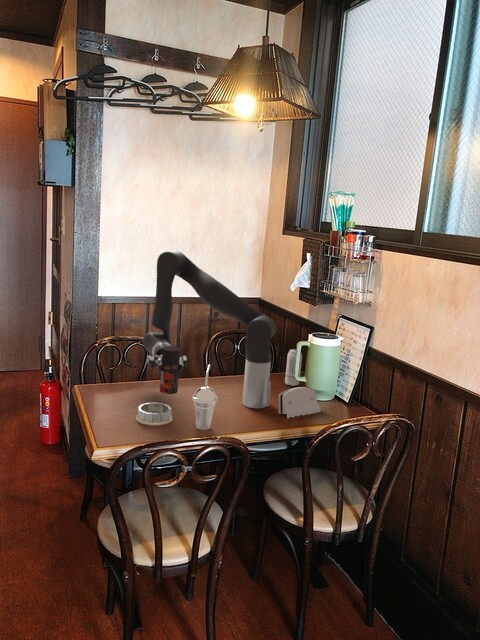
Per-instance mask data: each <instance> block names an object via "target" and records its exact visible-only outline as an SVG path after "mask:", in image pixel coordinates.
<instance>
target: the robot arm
mask: <svg viewBox="0 0 480 640" xmlns="http://www.w3.org/2000/svg"><path fill="white" fill-rule="evenodd" d="M175 276H177V277H179V278H181V279H182V280H183V281H184V282H186V283H188V284H189V285H190V286H191V287H192V288H193V290H194V291H195V292H196V294H197V295H198V297H199V298H200V299H201V300H202V301H203V302H204V303H205V304H207V305H208V306H209V307H211V308H213V309H214V310H215V311H217V312H219V313H221V314H223V315H225V316H228V317H230V318H232V319H235V320H237V322H240V323H241V324H242V325H244V327H246V334H245V347H244V349H245V350H244V351H245V365H244V379H243V388H242V389H243V390H242V405H243V406H245V407H246V408H251V409H264V408H267V407H270V395H271V386H272V385H271V384H272V382H271V381H270V375H271V365H272V364H271V363H272V353H271V344H272V342H271V341H272V338H273V337H274V335H275V334H276V331H277V327H276V324H275V322H274V320H273V319H272V318H270V317H269V316H268V315H266V314H264V313H263V312H261V311H259V310H257V309H255V308H254V307H253V306H251V305H250V304H248V303H247V302H246V301H244V300H243V299H242V298H241V297H240V296H238V295H237V294H236V293H235V292H233V291H232V290H231V289H229V288H228V287H227V286H226V285H224V284H223V283H221V282H220V281H218V280H217V279H215V277H213V276H211V274H209V273H207V272H205V271H204V270H203V269H201V268H200V267H199V266H197V264H195V263H194V262H193V261H192V260H191V259H190V258H189V257H188V256H186V254H184V252H183V253H182V252H181V251H179V250H177V249H176V250H175V249H173V250H165V251H163V252H161V253H160V254H159V255H158V257H157V260H156V287H155V288H156V289H155V299H154V307H153V311H152V317H151V325H152V327H154V328H155V329H158V330H161V331H162V333H161V332H155V331H154V332H152V331H151V332H150V331H149V332H147V333H146V334H145V335H144V337H143V341H142V342H143V343H142V345H143V347H144V349H145V350H146V351H147V352H149V353H150V354H152V355H146V364H147V365H148V366H149V367H150V368H153V369H154V368H155V367H156V369H157V370H159V371H160V372H161V371H162V368H163V364H162V362H161V361H162V348H163V347H165V346H172V340H171V339H172V338H171V321H172V319H171V318H172V314H173V305H174V304H173V296H172V295H173V293H172V290H173V283H174V280H175ZM187 361H188V359H187V355H183V356H181V357H180V358H179V372H181V371H183V370H184V368H187V364H188V363H187Z"/></svg>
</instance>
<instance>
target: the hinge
mask: <svg viewBox="0 0 480 640" xmlns="http://www.w3.org/2000/svg"><path fill="white" fill-rule="evenodd" d="M320 412H322V408H321V406H320V405H319V403H318V398H317V394H316V390H315V389H313V388H310V387H304V386H297V387H291V388H288V389H286V390H284V391H282V392H281V393H279V394H278V414H279V415H286V419H291V418H290V417H292V418H296V417H295V416H297V417H300V415H302V416H307V415H312V414H317V413H320ZM306 414H307V415H306Z"/></svg>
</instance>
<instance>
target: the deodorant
mask: <svg viewBox="0 0 480 640" xmlns="http://www.w3.org/2000/svg"><path fill="white" fill-rule="evenodd" d="M180 353H181V348H180V347H178V346H174V345H173V346H172V345H171V346H165V347H163V348H162V361H161V362H162V364H163V368H162V371H160V382H159V383H160V384H159V392H160V393H161V394H163V395H175V394H177V393H178V391H179V390H178V386H179V375H180V374H179V372H180V371H179V358H181V354H180Z"/></svg>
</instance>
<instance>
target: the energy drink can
mask: <svg viewBox="0 0 480 640" xmlns="http://www.w3.org/2000/svg"><path fill="white" fill-rule="evenodd" d="M296 350H297V349H295V348H294V349H292V348H291V349H289V351H288V353H287V359H286V368H285V369H286V370H285V378H284V384H285V385H286V384H287V385H291V386H295V385H298V386H299V385H300V380H299V381H298V380H296V379H295V373H294V372H295V361H296ZM302 360H303V354H302V353H301V355H300V364H299V376H300V377H301V369H302ZM287 385H286V386H287Z"/></svg>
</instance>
